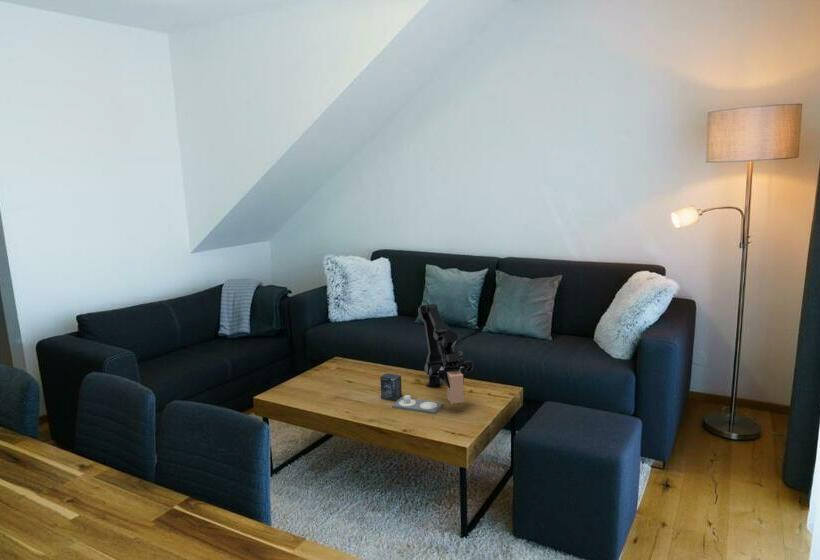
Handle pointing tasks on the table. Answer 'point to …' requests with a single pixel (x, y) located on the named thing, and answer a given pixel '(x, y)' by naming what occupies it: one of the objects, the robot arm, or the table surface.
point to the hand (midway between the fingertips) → (456, 386)
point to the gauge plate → (417, 405)
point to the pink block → (455, 387)
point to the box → (391, 387)
